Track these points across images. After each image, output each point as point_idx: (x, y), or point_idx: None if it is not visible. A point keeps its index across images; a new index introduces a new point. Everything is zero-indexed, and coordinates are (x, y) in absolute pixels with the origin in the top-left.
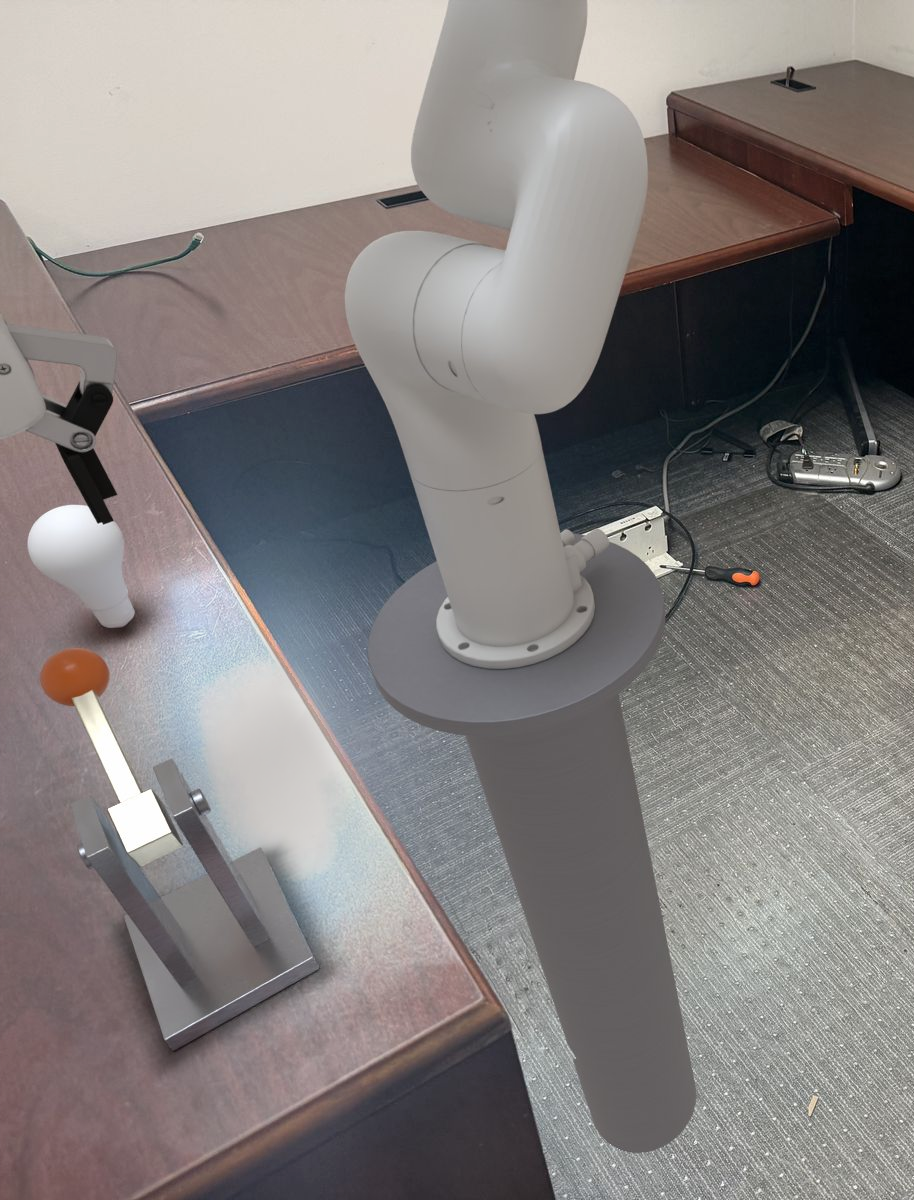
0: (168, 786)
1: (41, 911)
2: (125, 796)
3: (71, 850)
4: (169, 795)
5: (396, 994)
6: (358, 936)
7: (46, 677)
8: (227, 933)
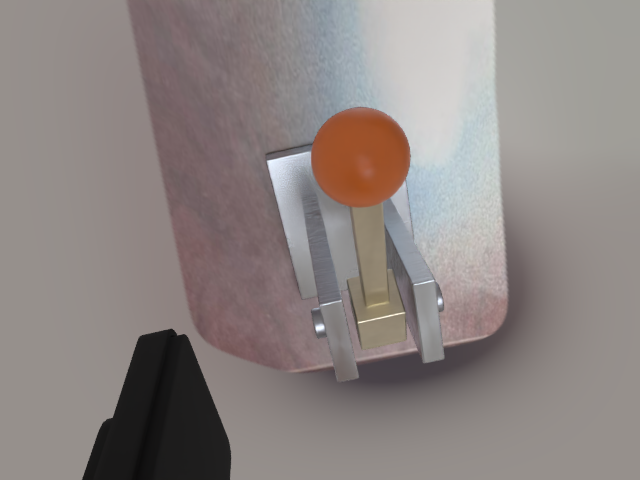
0: (425, 321)
1: (173, 89)
2: (372, 298)
3: (192, 5)
4: (424, 334)
5: (460, 306)
6: (449, 247)
7: (334, 193)
8: None
